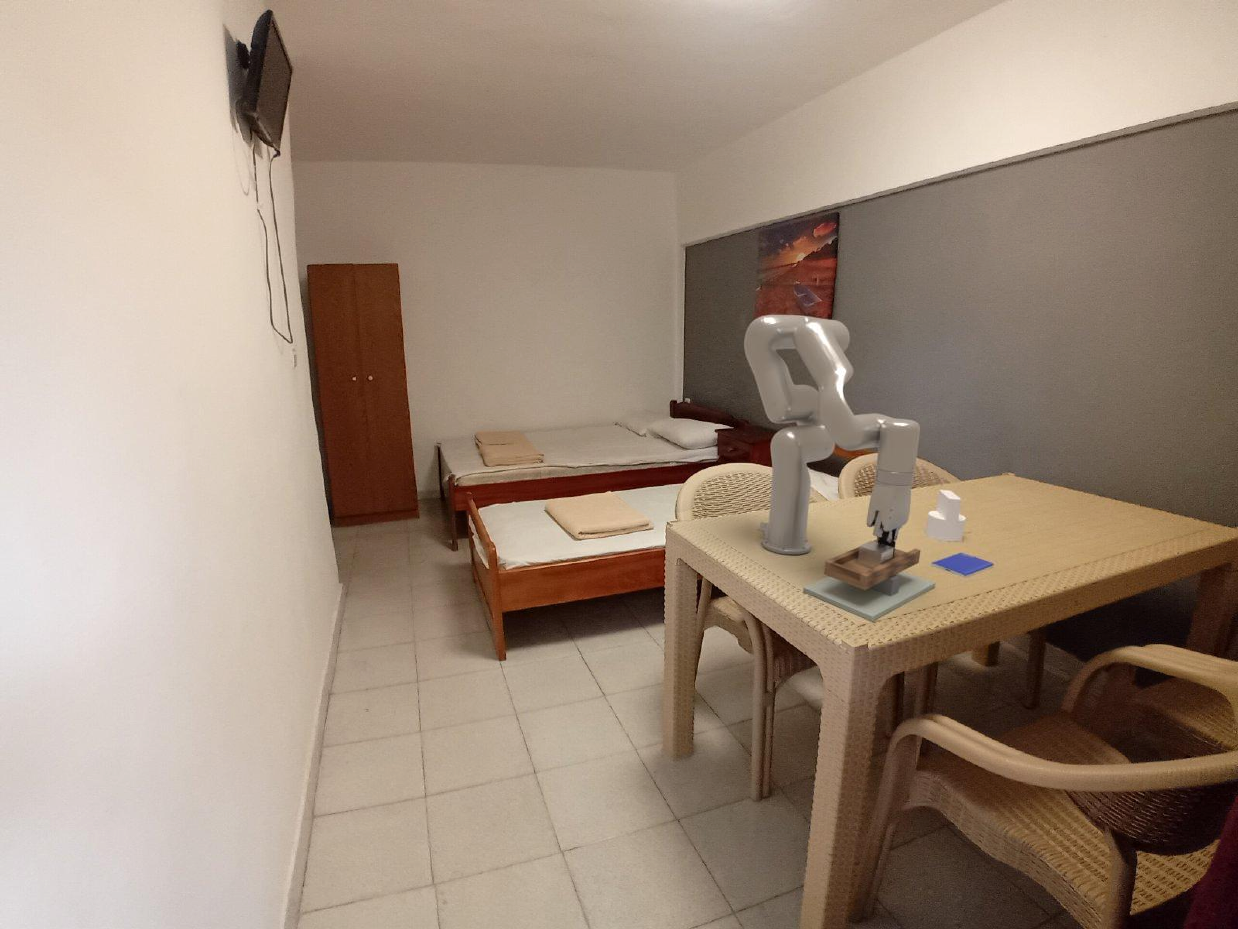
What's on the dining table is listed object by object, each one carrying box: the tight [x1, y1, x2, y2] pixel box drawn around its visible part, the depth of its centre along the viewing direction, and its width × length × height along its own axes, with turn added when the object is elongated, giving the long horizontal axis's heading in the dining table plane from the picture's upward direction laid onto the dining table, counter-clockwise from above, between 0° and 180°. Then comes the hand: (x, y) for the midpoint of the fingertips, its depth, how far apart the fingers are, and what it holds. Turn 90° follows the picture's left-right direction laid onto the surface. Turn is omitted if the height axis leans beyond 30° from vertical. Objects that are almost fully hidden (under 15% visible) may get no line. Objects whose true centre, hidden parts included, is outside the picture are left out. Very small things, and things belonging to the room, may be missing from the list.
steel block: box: [858, 540, 894, 569], centre depth 127 cm, size 5×5×4 cm
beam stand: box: [802, 571, 936, 622], centre depth 129 cm, size 26×16×5 cm, turn 127°
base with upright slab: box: [925, 489, 967, 543], centre depth 162 cm, size 9×9×12 cm
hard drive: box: [930, 552, 994, 579], centre depth 143 cm, size 2×8×12 cm
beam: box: [823, 539, 921, 590], centre depth 128 cm, size 22×9×3 cm, turn 127°
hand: (884, 557), depth 130 cm, fingers closed
